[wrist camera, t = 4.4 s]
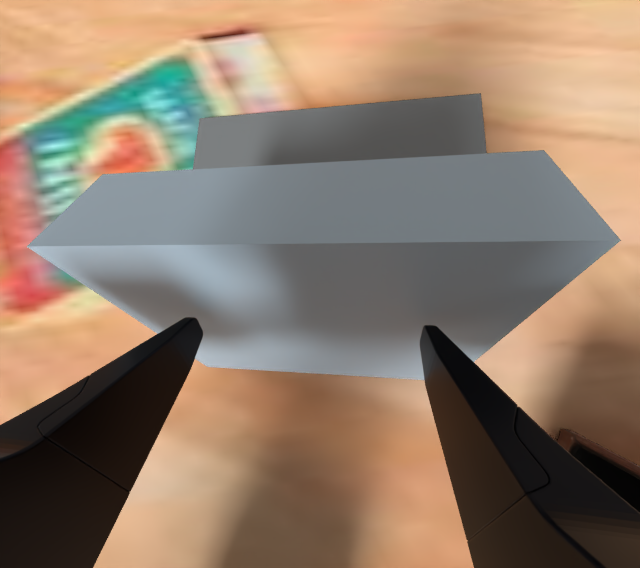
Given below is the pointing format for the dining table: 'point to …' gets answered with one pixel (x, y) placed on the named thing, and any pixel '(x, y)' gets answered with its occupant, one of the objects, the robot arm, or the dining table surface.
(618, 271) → the dining table surface
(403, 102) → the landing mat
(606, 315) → the dining table surface
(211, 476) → the dining table surface
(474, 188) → the blue slab
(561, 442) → the letter holder
